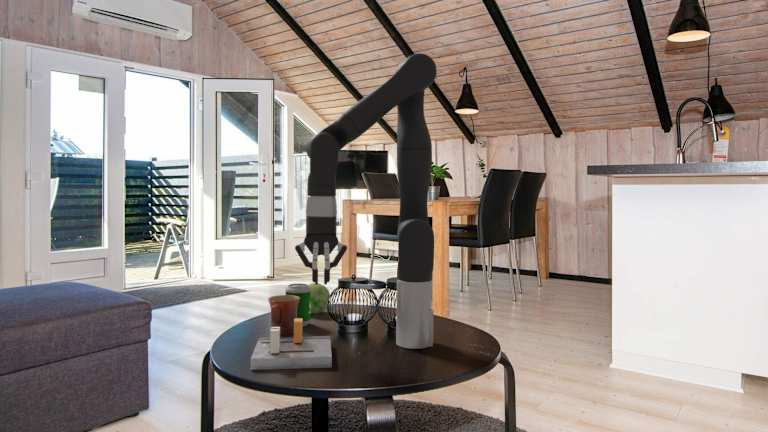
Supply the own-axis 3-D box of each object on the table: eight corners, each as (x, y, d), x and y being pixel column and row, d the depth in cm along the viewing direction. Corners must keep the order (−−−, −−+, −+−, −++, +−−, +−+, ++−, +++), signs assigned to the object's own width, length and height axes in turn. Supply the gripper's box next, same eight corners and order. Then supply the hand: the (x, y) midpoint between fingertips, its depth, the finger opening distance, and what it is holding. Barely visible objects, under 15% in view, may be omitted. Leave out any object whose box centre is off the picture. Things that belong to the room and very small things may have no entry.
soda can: (308, 328, 152) (308, 287, 151) (282, 327, 152) (283, 287, 152) (312, 321, 159) (312, 283, 159) (288, 321, 160) (288, 282, 159)
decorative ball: (332, 315, 168) (332, 285, 167) (301, 317, 165) (301, 286, 165) (327, 309, 177) (327, 280, 177) (298, 310, 175) (298, 281, 174)
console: (329, 345, 135) (329, 335, 134) (331, 367, 118) (331, 356, 118) (259, 347, 132) (259, 337, 132) (250, 369, 115) (250, 358, 115)
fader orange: (302, 338, 131) (302, 317, 131) (302, 342, 127) (302, 321, 127) (294, 338, 131) (294, 318, 130) (293, 342, 127) (293, 321, 127)
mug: (275, 329, 150) (275, 294, 150) (304, 331, 148) (304, 295, 148) (257, 340, 138) (257, 302, 138) (288, 343, 137) (288, 304, 136)
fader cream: (280, 348, 122) (280, 326, 122) (278, 353, 119) (279, 330, 119) (271, 348, 122) (271, 326, 122) (270, 353, 119) (270, 330, 118)
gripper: (348, 214, 133) (347, 281, 134) (294, 213, 131) (293, 281, 132) (350, 215, 126) (349, 286, 126) (292, 215, 124) (292, 287, 125)
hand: (320, 283), depth 129 cm, fingers closed
